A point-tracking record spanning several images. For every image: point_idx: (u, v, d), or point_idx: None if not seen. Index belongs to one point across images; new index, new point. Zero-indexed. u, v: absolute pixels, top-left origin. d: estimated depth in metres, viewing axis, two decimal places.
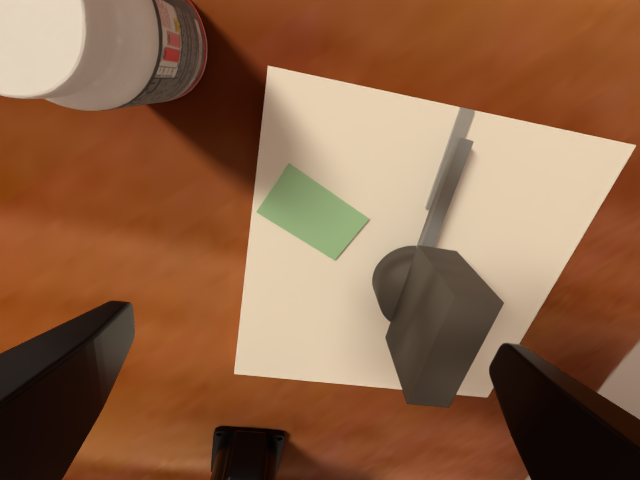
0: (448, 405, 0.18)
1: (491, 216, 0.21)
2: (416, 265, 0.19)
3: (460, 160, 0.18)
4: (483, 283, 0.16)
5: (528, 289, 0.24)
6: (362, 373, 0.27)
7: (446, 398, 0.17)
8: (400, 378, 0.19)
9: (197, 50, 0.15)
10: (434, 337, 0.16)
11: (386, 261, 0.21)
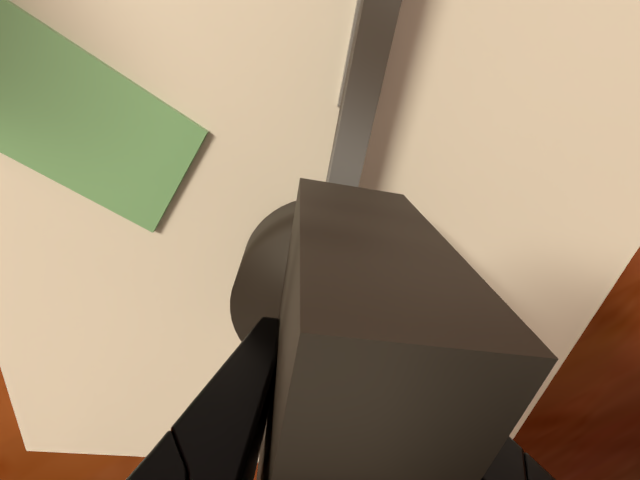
0: None
1: (491, 128, 0.09)
2: (292, 230, 0.07)
3: None
4: (463, 272, 0.04)
5: (566, 290, 0.12)
6: None
7: None
8: None
9: None
10: None
11: (257, 231, 0.09)
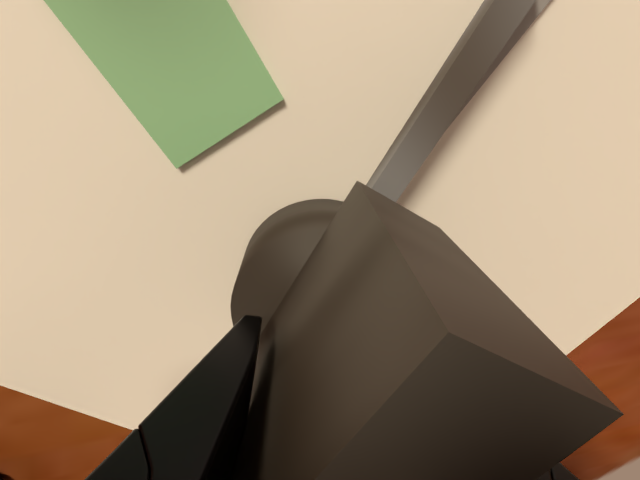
0: None
1: (514, 210, 0.11)
2: (337, 227, 0.07)
3: None
4: (522, 316, 0.05)
5: None
6: None
7: None
8: None
9: None
10: (306, 477, 0.04)
11: (280, 216, 0.09)
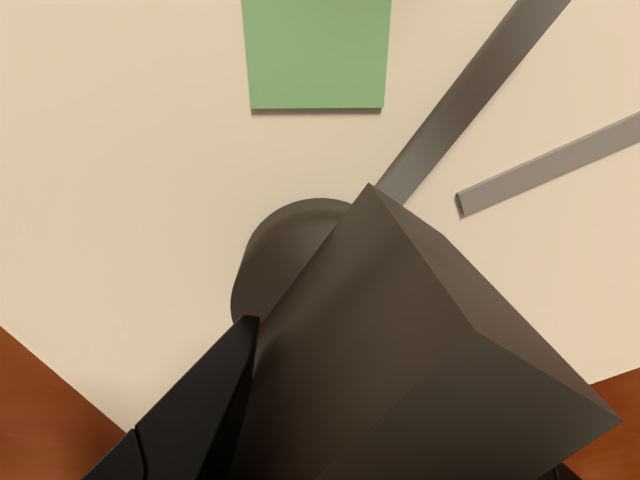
0: None
1: None
2: (346, 226, 0.07)
3: (536, 21, 0.07)
4: (527, 324, 0.05)
5: None
6: (76, 351, 0.12)
7: None
8: None
9: None
10: (316, 466, 0.04)
11: (286, 212, 0.09)
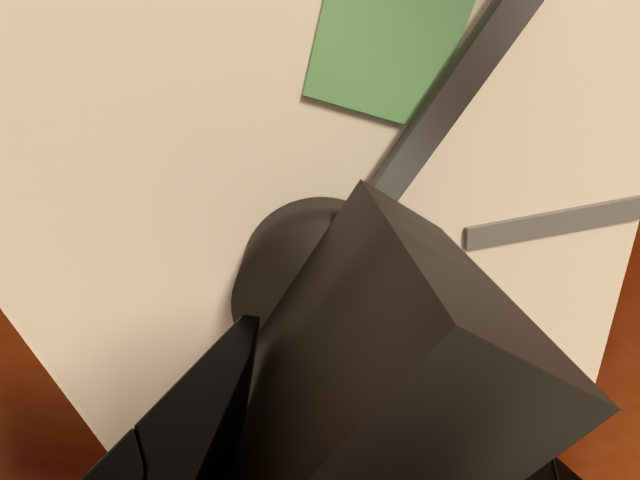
0: None
1: None
2: (340, 224, 0.07)
3: (523, 4, 0.07)
4: (523, 315, 0.05)
5: None
6: (36, 295, 0.11)
7: None
8: None
9: None
10: (310, 467, 0.04)
11: (282, 213, 0.09)
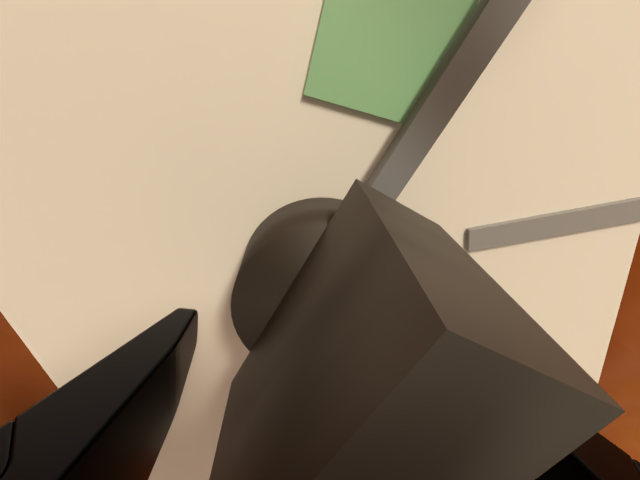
0: None
1: None
2: (336, 225, 0.07)
3: None
4: (523, 314, 0.05)
5: None
6: (34, 296, 0.11)
7: None
8: None
9: None
10: (306, 476, 0.04)
11: (280, 215, 0.09)
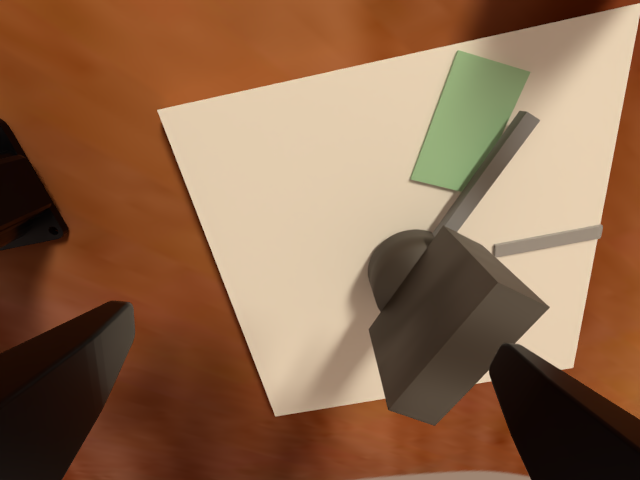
0: (435, 422, 0.14)
1: None
2: (436, 248, 0.15)
3: (518, 139, 0.15)
4: (521, 282, 0.13)
5: None
6: (248, 284, 0.20)
7: (436, 413, 0.14)
8: (384, 378, 0.15)
9: None
10: (452, 332, 0.12)
11: (395, 240, 0.18)
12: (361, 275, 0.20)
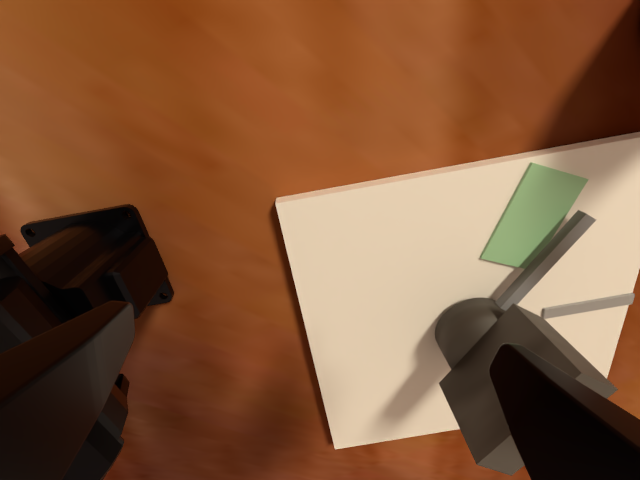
0: (512, 473, 0.17)
1: None
2: (508, 323, 0.18)
3: (577, 233, 0.18)
4: (588, 362, 0.16)
5: None
6: (329, 340, 0.22)
7: (514, 466, 0.17)
8: (466, 434, 0.18)
9: None
10: None
11: (464, 308, 0.21)
12: (428, 333, 0.22)
